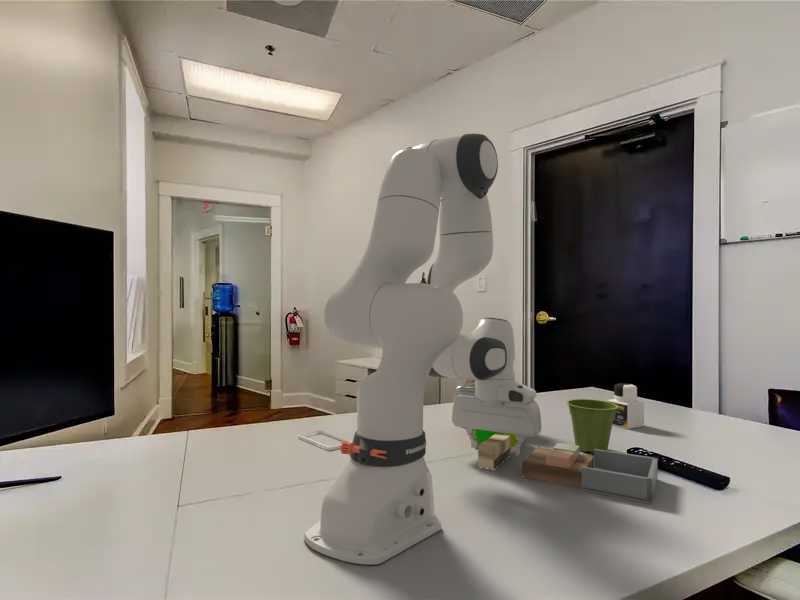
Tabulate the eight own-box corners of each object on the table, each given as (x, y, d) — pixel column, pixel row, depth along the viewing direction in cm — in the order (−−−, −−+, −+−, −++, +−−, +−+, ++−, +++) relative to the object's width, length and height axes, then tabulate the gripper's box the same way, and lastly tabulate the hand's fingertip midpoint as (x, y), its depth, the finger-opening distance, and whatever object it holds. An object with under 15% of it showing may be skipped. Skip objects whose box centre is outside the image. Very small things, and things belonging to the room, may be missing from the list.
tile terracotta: (569, 468, 96) (569, 458, 96) (546, 464, 98) (546, 454, 98) (573, 462, 100) (573, 452, 100) (551, 458, 102) (551, 449, 102)
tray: (652, 503, 86) (652, 479, 86) (581, 490, 93) (581, 467, 93) (657, 479, 98) (657, 458, 98) (594, 468, 105) (594, 448, 105)
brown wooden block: (582, 488, 94) (582, 472, 94) (521, 476, 100) (521, 461, 100) (593, 470, 104) (593, 456, 104) (537, 460, 110) (537, 447, 110)
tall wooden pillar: (493, 471, 104) (493, 447, 104) (478, 468, 105) (478, 445, 105) (510, 457, 113) (510, 435, 113) (496, 454, 115) (496, 433, 115)
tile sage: (575, 460, 101) (575, 451, 101) (553, 457, 103) (553, 447, 103) (579, 455, 104) (579, 445, 104) (558, 451, 107) (558, 442, 107)
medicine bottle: (606, 423, 143) (606, 383, 143) (623, 421, 146) (623, 381, 146) (627, 429, 137) (627, 387, 137) (644, 426, 140) (644, 385, 140)
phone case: (353, 446, 122) (320, 434, 133) (353, 441, 122) (320, 429, 133) (328, 452, 117) (297, 439, 128) (328, 447, 117) (297, 434, 128)
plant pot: (603, 460, 110) (603, 411, 110) (556, 448, 119) (556, 402, 119) (627, 450, 117) (627, 404, 117) (582, 439, 126) (582, 396, 127)
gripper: (447, 387, 112) (447, 447, 112) (535, 396, 101) (535, 462, 102) (458, 383, 117) (458, 440, 118) (543, 391, 107) (543, 454, 107)
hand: (495, 450), depth 109 cm, fingers open, 8 cm apart
